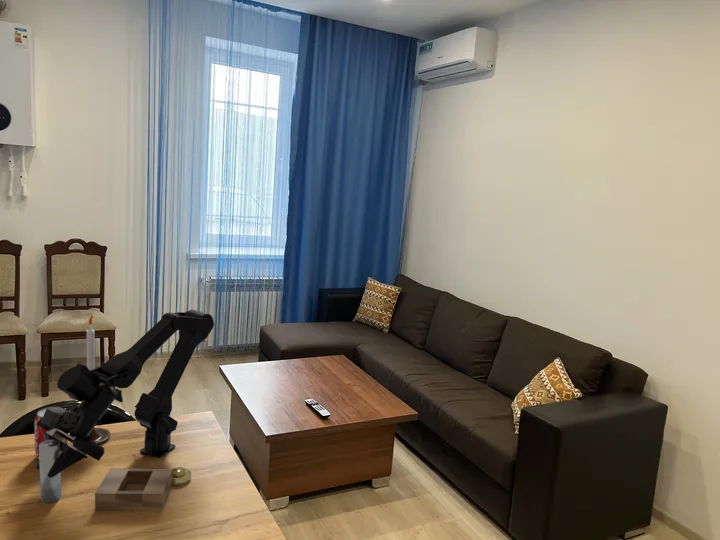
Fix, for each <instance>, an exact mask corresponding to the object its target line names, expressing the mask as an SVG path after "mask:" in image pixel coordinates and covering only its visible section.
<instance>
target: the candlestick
mask: <svg viewBox="0 0 720 540" xmlns="http://www.w3.org/2000/svg"><path fill="white" fill-rule="evenodd" d="M93 318H94V316H93V313H91V314H90V317H89V319H88V325H89V326H88V329H87V330H86V367H88V369H89V370H93V369H95V368H96V362H95V360H96V353H95V352H96V351H95V350H96V349H95V347H96V345H95V338H96V336H95V334H96V333H95V329H93V327H92V326H93V325H92V324H93ZM101 385H105V384H103V383H100V386H101ZM110 388H112V389H115V387H110ZM67 395H68V394H67ZM68 397H69V399H71V400H74V401H77V400H76V399H74V398H73V397H71V396H69V395H68ZM88 437H90V438H91V439H90V440H91V441H93V442H95V443H97V444H98V445H100V444H101V445H103V443H104V444H106V443H107V442H109V440H110V438H111V432H110V430H108V429H106V428H101V427H96V426H95V427H94V428H93V429H92V431H91V432H90V434H89V435H88ZM74 438H76V437H74ZM106 441H107V442H106ZM105 442H106V443H105ZM101 445H100V446H101Z"/></svg>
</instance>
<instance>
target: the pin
mask: <svg viewBox="0 0 720 540" xmlns="http://www.w3.org/2000/svg"><path fill="white" fill-rule="evenodd" d="M59 456H60V441H59V440H56V439H51V440H46V441H43V442H41V443H40V444H39V459H38V463H39V465H40V470H39V490H40V491H39V493H40V502H41V503H43V504H52V503H55V502H58V501H59V500H60V499H61V498H62V477H61V475H62V474H61V473H62V471H61V472H60V473H58V474H57V475H55V476H54V477H52V478H50V477H48V476H47V475H48V473H49V471H50V469H51V468H52V466H53V465H54V463H55V462H56V460H57V459H58V457H59Z"/></svg>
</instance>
